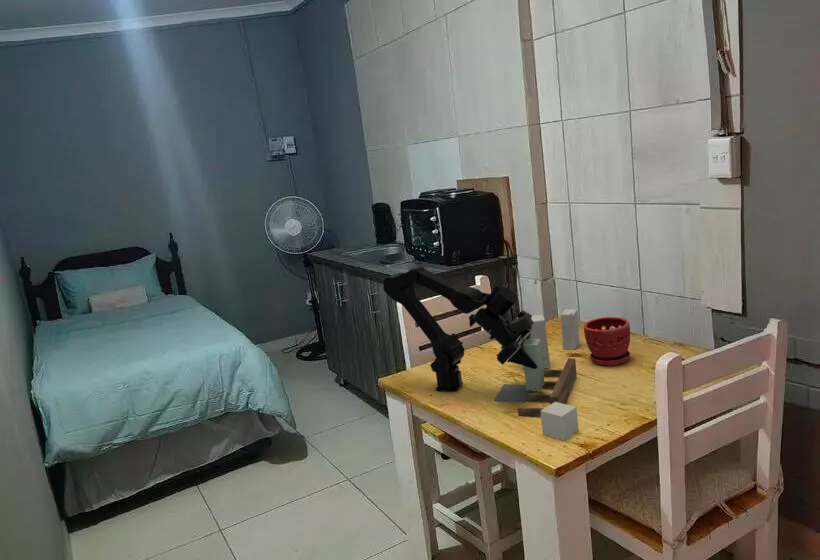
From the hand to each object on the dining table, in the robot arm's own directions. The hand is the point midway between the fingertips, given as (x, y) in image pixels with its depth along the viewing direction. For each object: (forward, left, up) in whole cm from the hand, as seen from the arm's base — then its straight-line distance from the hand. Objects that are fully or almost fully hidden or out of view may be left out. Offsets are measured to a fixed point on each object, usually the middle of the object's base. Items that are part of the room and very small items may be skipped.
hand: (538, 364), depth 168 cm
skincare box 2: (+2, +39, -9) cm, 40 cm away
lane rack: (+2, 0, -9) cm, 9 cm away
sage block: (-1, 0, -7) cm, 7 cm away
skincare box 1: (-6, +21, -9) cm, 24 cm away
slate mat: (-8, 0, -9) cm, 12 cm away
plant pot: (+15, +27, -9) cm, 32 cm away
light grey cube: (+9, -21, -9) cm, 25 cm away
